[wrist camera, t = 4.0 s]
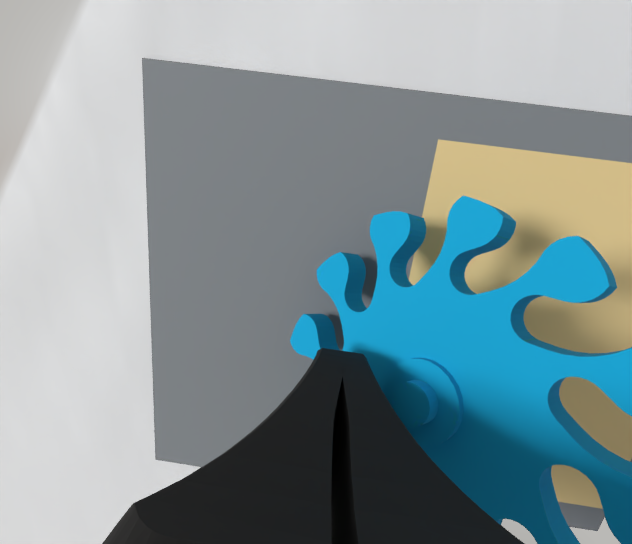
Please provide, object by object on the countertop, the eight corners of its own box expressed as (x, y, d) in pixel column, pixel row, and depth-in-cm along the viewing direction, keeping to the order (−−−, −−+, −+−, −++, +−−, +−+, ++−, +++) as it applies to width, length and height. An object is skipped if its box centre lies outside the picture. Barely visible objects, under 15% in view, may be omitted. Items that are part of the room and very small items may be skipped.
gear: (419, 108, 10) (948, 540, 5) (509, 167, 14) (844, 432, 9) (223, 377, 15) (371, 730, 10) (332, 362, 19) (477, 604, 14)
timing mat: (776, 134, 12) (798, 135, 11) (589, 517, 17) (597, 531, 16) (151, 60, 12) (141, 57, 12) (161, 448, 18) (155, 459, 17)
